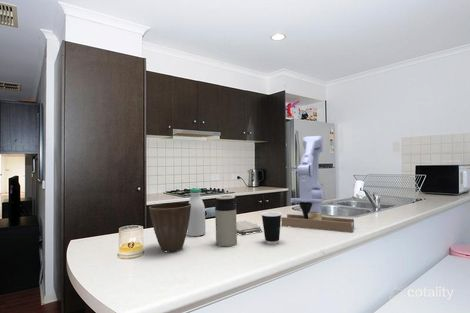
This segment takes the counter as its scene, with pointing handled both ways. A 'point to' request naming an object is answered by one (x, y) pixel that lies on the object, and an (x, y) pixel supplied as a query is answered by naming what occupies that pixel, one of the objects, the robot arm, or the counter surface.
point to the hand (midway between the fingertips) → (306, 218)
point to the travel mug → (225, 221)
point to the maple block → (315, 215)
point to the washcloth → (247, 227)
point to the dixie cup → (271, 226)
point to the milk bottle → (196, 214)
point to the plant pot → (170, 224)
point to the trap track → (319, 223)
